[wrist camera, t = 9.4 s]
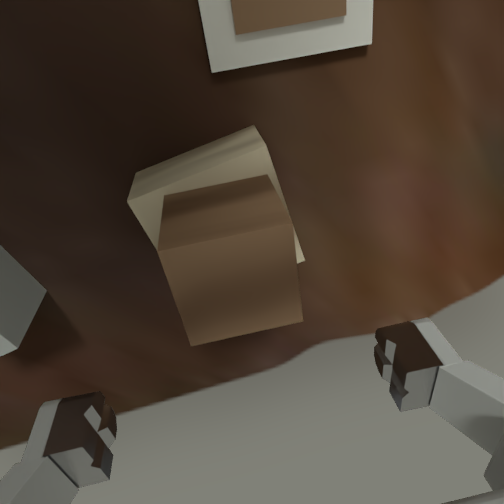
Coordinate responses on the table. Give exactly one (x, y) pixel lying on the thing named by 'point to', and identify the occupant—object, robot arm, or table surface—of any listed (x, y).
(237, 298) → the walnut cube
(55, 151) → the table surface
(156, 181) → the oak base block
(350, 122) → the table surface
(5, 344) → the grey cube
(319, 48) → the swatch
